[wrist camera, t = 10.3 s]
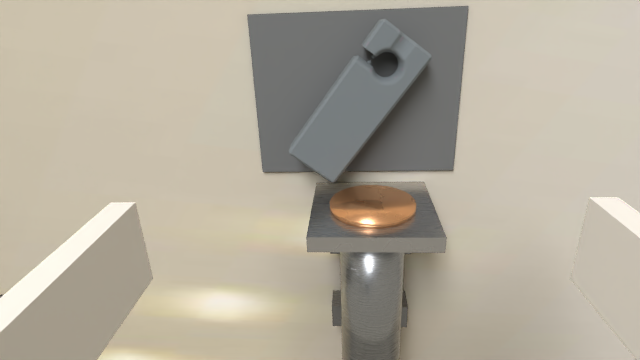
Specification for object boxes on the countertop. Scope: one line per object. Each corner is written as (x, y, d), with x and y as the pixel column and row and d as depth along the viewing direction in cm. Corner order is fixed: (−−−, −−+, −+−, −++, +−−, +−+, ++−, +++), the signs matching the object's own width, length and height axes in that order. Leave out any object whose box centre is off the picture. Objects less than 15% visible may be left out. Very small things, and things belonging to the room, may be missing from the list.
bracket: (289, 145, 30) (286, 154, 28) (380, 16, 26) (383, 16, 25) (334, 175, 31) (334, 185, 29) (428, 53, 27) (435, 56, 25)
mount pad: (263, 171, 32) (262, 172, 31) (248, 14, 27) (247, 14, 27) (452, 169, 31) (453, 170, 30) (467, 6, 26) (468, 6, 26)
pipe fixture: (322, 318, 37) (315, 397, 29) (316, 177, 32) (306, 231, 24) (414, 319, 36) (431, 400, 29) (424, 176, 31) (447, 231, 24)
